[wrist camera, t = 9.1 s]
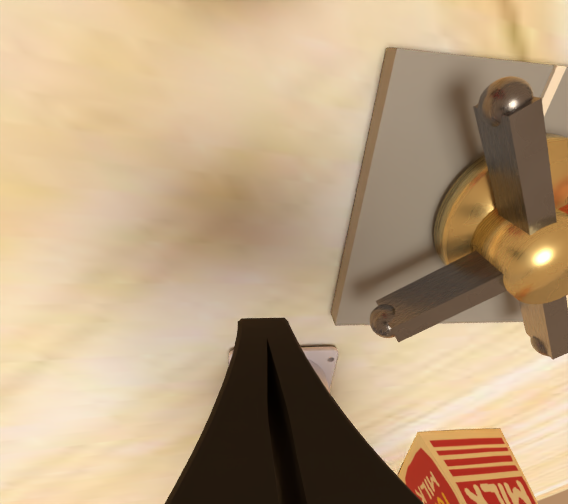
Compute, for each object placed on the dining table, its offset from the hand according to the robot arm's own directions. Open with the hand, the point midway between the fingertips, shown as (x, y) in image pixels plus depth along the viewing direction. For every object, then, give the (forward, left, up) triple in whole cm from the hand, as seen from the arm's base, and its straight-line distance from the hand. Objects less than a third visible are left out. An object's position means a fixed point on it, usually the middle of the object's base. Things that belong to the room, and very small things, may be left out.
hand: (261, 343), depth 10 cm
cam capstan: (0, -14, -9) cm, 17 cm away
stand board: (0, -14, -10) cm, 17 cm away
